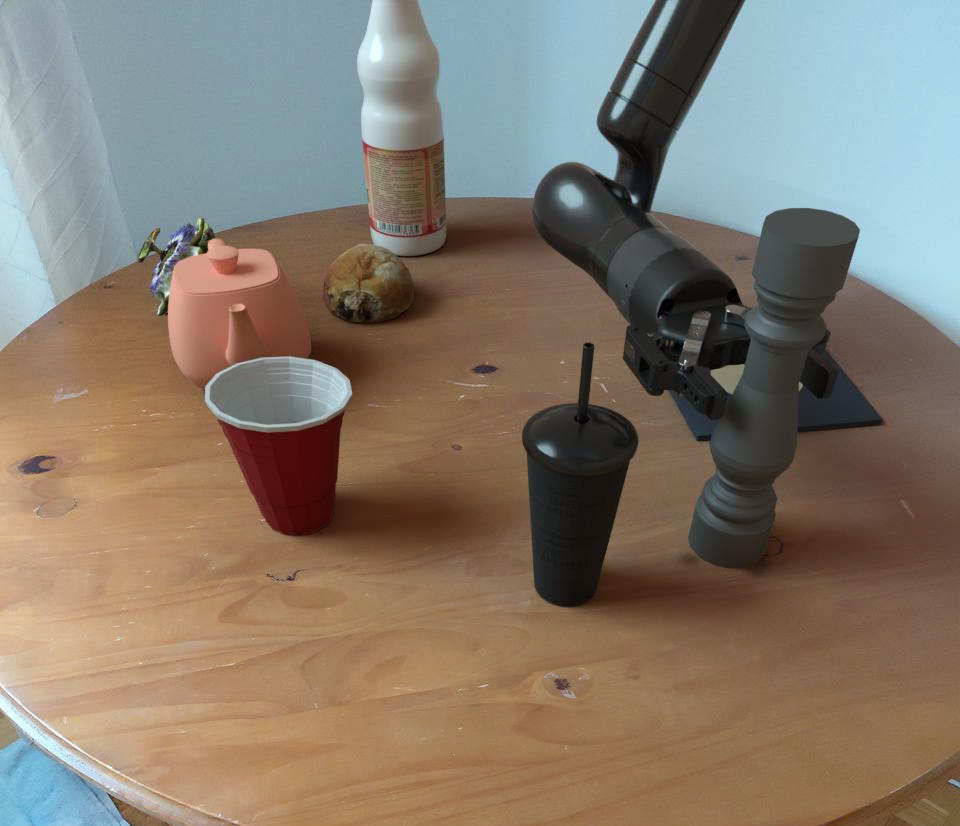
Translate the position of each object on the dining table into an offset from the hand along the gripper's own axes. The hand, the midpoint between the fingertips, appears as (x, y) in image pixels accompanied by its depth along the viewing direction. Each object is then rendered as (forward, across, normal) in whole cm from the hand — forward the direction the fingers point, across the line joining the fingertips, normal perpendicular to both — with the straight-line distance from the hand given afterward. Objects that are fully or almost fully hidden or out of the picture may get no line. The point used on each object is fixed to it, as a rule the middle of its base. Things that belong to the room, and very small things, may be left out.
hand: (776, 397), depth 61 cm
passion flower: (-54, -36, +14) cm, 66 cm away
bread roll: (-50, -18, +14) cm, 55 cm away
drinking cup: (-1, -14, +14) cm, 20 cm away
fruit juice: (-65, -9, +14) cm, 67 cm away
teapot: (-39, -33, +14) cm, 53 cm away
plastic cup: (-16, -32, +14) cm, 38 cm away
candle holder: (-1, 0, +14) cm, 14 cm away
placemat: (-22, +15, +14) cm, 30 cm away
